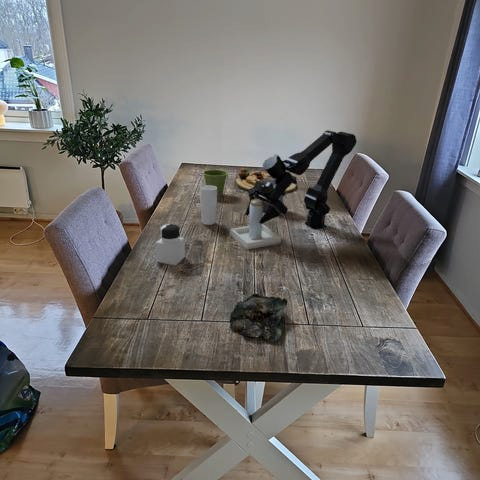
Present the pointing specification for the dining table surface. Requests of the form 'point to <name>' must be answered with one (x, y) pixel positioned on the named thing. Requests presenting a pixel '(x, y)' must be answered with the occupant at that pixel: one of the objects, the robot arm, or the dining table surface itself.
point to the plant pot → (216, 179)
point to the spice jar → (255, 219)
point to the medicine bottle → (170, 245)
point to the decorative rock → (259, 317)
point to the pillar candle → (265, 205)
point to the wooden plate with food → (248, 180)
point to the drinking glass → (208, 203)
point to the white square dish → (266, 240)
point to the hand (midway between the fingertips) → (252, 219)
